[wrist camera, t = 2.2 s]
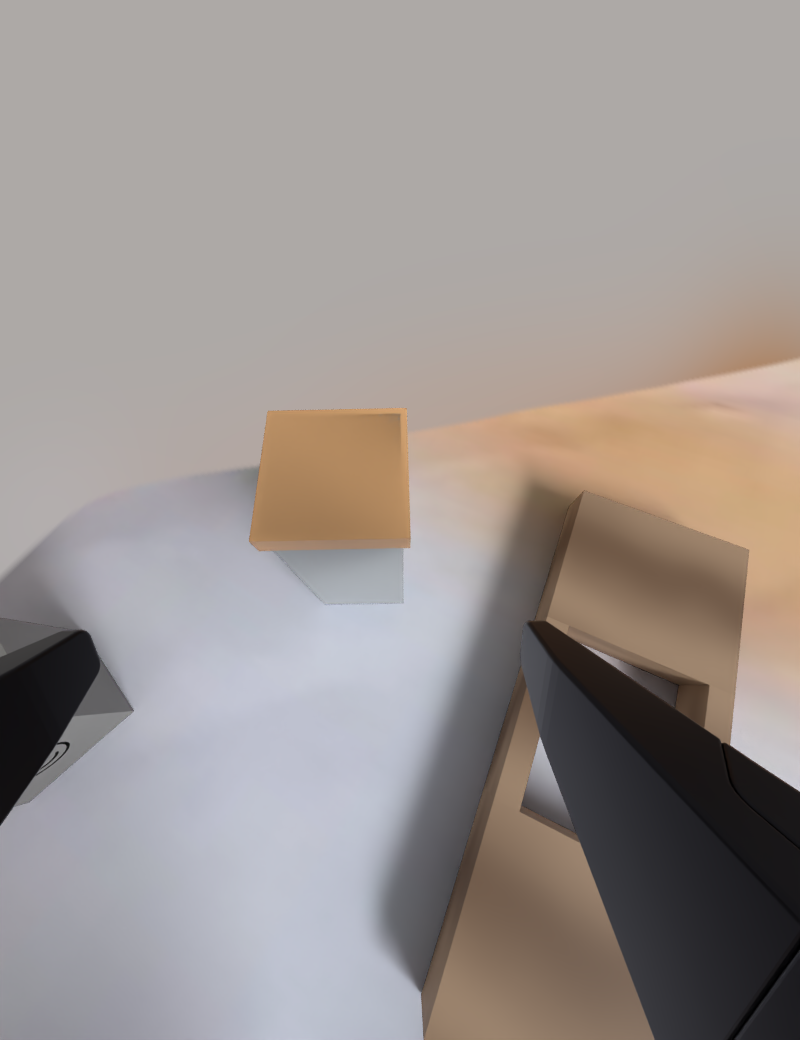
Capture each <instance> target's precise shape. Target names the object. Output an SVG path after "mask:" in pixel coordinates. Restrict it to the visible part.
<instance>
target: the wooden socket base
mask: <svg viewBox="0 0 800 1040" xmlns="http://www.w3.org/2000/svg"><path fill="white" fill-rule="evenodd" d="M748 557H749V550H748V549H746V548H743V547H740V546H737V545H735V544H732V543H729V542H726V541H723V540H721V539H718V538H715V537H712V536H710V535H707V534H704V533H701V532H698V531H696V530H693V529H690V528H687V527H685V526H682V525H679V524H676V523H673V522H671V521H668V520H665V519H662V518H660V517H657V516H654V515H651V514H649V513H646V512H643V511H640V510H637V509H635V508H632V507H629V506H626V505H624V504H621V503H618V502H615V501H612V500H610V499H607V498H604V497H601V496H599V495H596V494H593V493H590V492H587V491H585V490H584V491H583V492H582V493H581V494H580V495H579V496H578V497H577V499H576V500H575V501H574V502H573V503H572V504H571V505H570V506H569V508H568V512H567V515H566V518H565V521H564V525H563V528H562V531H561V535H560V538H559V541H558V545H557V548H556V551H555V554H554V558H553V561H552V564H551V568H550V571H549V574H548V578H547V581H546V584H545V587H544V591H543V594H542V597H541V601H540V604H539V607H538V611H537V614H536V617H535V620H544V621H547V622H549V623H550V624H552V625H553V626H555V627H556V628H558V629H559V630H561V631H562V632H564V633H565V634H566V635H568V636H569V637H571V638H572V639H574V640H575V641H577V642H579V643H581V644H584V645H586V646H588V647H591V648H593V649H595V650H598V651H600V652H602V653H605V654H607V655H609V656H612V657H614V658H616V659H619V660H621V661H623V662H626V663H628V664H630V665H633V666H635V667H637V668H640V669H642V670H645V671H647V672H649V673H652V674H654V675H656V676H659V677H661V678H663V679H666V680H668V681H670V682H673V683H675V684H677V685H679V687H678V694H677V700H676V707H675V709H677V710H678V711H680V712H681V713H683V714H684V715H686V716H687V717H689V718H690V719H692V720H693V721H695V722H696V723H698V724H699V725H701V726H702V727H703V728H705V729H706V730H708V731H709V732H711V733H712V734H714V735H715V736H717V737H718V738H720V740H721V743H724V742H725V743H727V744H729V745H730V740H731V729H732V719H733V709H734V699H735V689H736V679H737V669H738V658H739V648H740V638H741V628H742V618H743V608H744V598H745V587H746V577H747V567H748ZM539 737H540V734H539V730H538V727H537V723H536V719H535V715H534V712H533V708H532V704H531V700H530V696H529V692H528V689H527V685H526V681H525V677H524V673H523V669H522V665H521V667H520V670H519V673H518V677H517V680H516V683H515V686H514V690H513V693H512V696H511V700H510V703H509V706H508V710H507V713H506V716H505V719H504V723H503V726H502V729H501V733H500V736H499V739H498V743H497V746H496V749H495V752H494V756H493V759H492V762H491V766H490V769H489V772H488V776H487V779H486V782H485V785H484V789H483V792H482V795H481V799H480V802H479V805H478V808H477V812H476V815H475V818H474V822H473V825H472V828H471V832H470V835H469V838H468V841H467V845H466V848H465V851H464V855H463V858H462V861H461V865H460V868H459V871H458V874H457V878H456V881H455V884H454V888H453V891H452V894H451V898H450V901H449V904H448V907H447V911H446V914H445V917H444V921H443V924H442V927H441V931H440V934H439V937H438V940H437V944H436V947H435V950H434V954H433V957H432V960H431V964H430V967H429V970H428V973H427V977H426V980H425V983H424V987H423V990H422V993H421V1000H422V1018H423V1036H424V1040H655V1039H654V1037H653V1034H652V1031H651V1029H650V1026H649V1023H648V1021H647V1018H646V1016H645V1013H644V1010H643V1008H642V1005H641V1002H640V1000H639V997H638V994H637V992H636V989H635V987H634V984H633V981H632V979H631V976H630V973H629V971H628V968H627V965H626V963H625V960H624V957H623V955H622V952H621V950H620V947H619V944H618V942H617V939H616V936H615V934H614V931H613V928H612V926H611V923H610V920H609V918H608V915H607V913H606V910H605V907H604V905H603V902H602V899H601V897H600V894H599V891H598V889H597V886H596V884H595V881H594V878H593V876H592V873H591V870H590V868H589V865H588V862H587V860H586V857H585V854H584V852H583V849H582V847H581V844H580V841H579V839H578V836H577V834H576V833H574V832H572V831H570V830H568V829H566V828H565V827H563V826H561V825H559V824H557V823H555V822H553V821H551V820H549V819H547V818H545V817H543V816H541V815H539V814H537V813H535V812H533V811H531V810H529V809H527V808H525V807H523V806H521V804H522V800H523V796H524V793H525V789H526V785H527V782H528V778H529V774H530V770H531V767H532V763H533V759H534V755H535V752H536V748H537V744H538V740H539Z"/></svg>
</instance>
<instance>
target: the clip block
mask: <svg viewBox="0 0 800 1040" xmlns="http://www.w3.org/2000/svg"><path fill="white" fill-rule="evenodd" d="M410 539H411V538H410V505H409V472H408V439H407V409H406V408H386V409H339V410H291V411H290V410H288V411H268V412H267V420H266V427H265V433H264V441H263V447H262V454H261V461H260V468H259V475H258V482H257V489H256V496H255V503H254V510H253V517H252V524H251V531H250V538H249V542H250V543H251V544H252V545H253V546H254V547H255V548H256V549H257V550H258V551H274V552H275V553H276V555H277V556H278V557H279V558H280V559H281V560H282V561H283V562H284V563H285V564H286V565H287V566H288V567H289V568H290V569H291V570H292V571H293V572H294V573H295V574H296V575H297V576H298V577H299V578H300V579H301V580H302V581H303V582H304V583H305V584H306V585H307V586H308V587H309V589H310V590H311V591H312V592H313V593H314V594H315V595H316V596H317V597H318V598H319V599H320V600H321V601H322V602H323V603H324V604H325V605H336V604H387V603H403V548H410Z"/></svg>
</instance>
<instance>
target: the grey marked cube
mask: <svg viewBox="0 0 800 1040" xmlns="http://www.w3.org/2000/svg"><path fill="white" fill-rule="evenodd" d="M64 630H70V629H64V628H58V627H52V626H46V625H40V624H35V623H29V622H23V621H17V620H11V619H5V618H0V657H1V656H4V655H6V654H8V653H11V652H13V651H15V650H18V649H20V648H22V647H25V646H27V645H29V644H32V643H34V642H36V641H39V640H41V639H43V638H46V637H48V636H50V635H53V634H55V633H58V632H60V631H64ZM98 656H99V655H98ZM99 658H100V657H99ZM100 662H101V666H100V671H99V673H98V675H97V677H96V679H95V680H94V682H93V684H92V685H91V687H90V689H89V691H88V692H87V694H86V696H85V697H84V699H83V701H82V703H81V704H80V706H79V708H78V709H77V711H76V713H75V715H74V716H73V718H72V720H71V721H70V723H69V725H68V727H67V728H66V730H65V732H64V733H63V735H62V737H61V738H60V740H59V742H58V743H57V745H56V746H55V748H54V749H53V751H52V752H51V754H50V755H49V757H48V758H47V760H46V761H45V763H44V764H43V766H42V767H41V769H40V770H39V771H38V773H37V774H36V776H35V777H34V779H33V780H32V781H31V783H30V784H29V786H28V787H27V789H26V790H25V791H24V793H23V794H22V796H21V797H20V799H19V800H18V801H17V803H16V804H15V806H18V805H22V804H25V803H28V802H30V801H31V800H32V799H34V798H35V797H36V796H37V795H38V794H39V793H40V792H42V791H43V790H44V789H45V788H46V787H47V786H48V785H50V784H51V783H52V782H53V781H54V780H55V779H57V778H58V777H59V776H60V775H61V774H62V773H63V772H65V771H66V770H67V769H68V768H69V767H70V766H71V765H73V764H74V763H75V762H76V761H77V760H78V759H79V758H81V757H82V756H83V755H84V754H85V753H86V752H87V751H89V750H90V749H91V748H92V747H93V746H94V745H96V744H97V743H98V742H99V741H100V740H101V739H102V738H104V737H105V736H106V735H107V734H108V733H109V732H110V731H112V730H113V729H114V728H115V727H116V726H117V725H118V724H120V723H121V722H122V721H123V720H124V719H125V718H127V717H128V716H129V715H130V714H131V713H132V712H133V711H134V710H133V708H132V707H131V705H130V704H129V702H128V701H127V699H126V698H125V696H124V694H123V693H122V691H121V690H120V688H119V687H118V685H117V683H116V682H115V680H114V679H113V677H112V676H111V674H110V673H109V671H108V669H107V668H106V666H105V665H104V663H103V662H102V660H101V658H100ZM15 806H14V807H15Z"/></svg>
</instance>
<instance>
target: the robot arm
mask: <svg viewBox="0 0 800 1040" xmlns="http://www.w3.org/2000/svg"><path fill="white" fill-rule="evenodd" d="M520 660H521V665H522V669H523V673H524V677H525V681H526V685H527V689H528V692H529V696H530V700H531V704H532V708H533V712H534V715H535V719H536V723H537V727H538V730H539V734H540V737H541V740H542V743H543V746H544V749H545V751H546V754H547V757H548V759H549V762H550V765H551V767H552V770H553V773H554V775H555V778H556V781H557V783H558V786H559V788H560V791H561V794H562V796H563V799H564V802H565V804H566V807H567V810H568V812H569V815H570V817H571V820H572V823H573V825H574V828H575V831H576V833H577V836H578V839H579V841H580V844H581V847H582V849H583V852H584V854H585V857H586V860H587V862H588V865H589V868H590V870H591V873H592V876H593V878H594V881H595V884H596V886H597V889H598V891H599V894H600V897H601V899H602V902H603V905H604V907H605V910H606V913H607V915H608V918H609V920H610V923H611V926H612V928H613V931H614V934H615V936H616V939H617V942H618V944H619V947H620V950H621V952H622V955H623V957H624V960H625V963H626V965H627V968H628V971H629V973H630V976H631V979H632V981H633V984H634V987H635V989H636V992H637V994H638V997H639V1000H640V1002H641V1005H642V1008H643V1010H644V1013H645V1016H646V1018H647V1021H648V1023H649V1026H650V1029H651V1031H652V1034H653V1037H654V1039H655V1040H800V792H799V791H798V790H796V789H795V788H793V787H792V786H790V785H789V784H787V783H786V782H784V781H783V780H781V779H780V778H778V777H777V776H775V775H774V774H772V773H771V772H769V771H768V770H766V769H764V768H763V767H761V766H760V765H758V764H757V763H755V762H754V761H752V760H751V759H749V758H748V757H746V756H745V755H744V754H742V753H741V752H739V751H738V750H736V749H735V748H733V747H732V746H730V745H729V744H727V743H725V742H724V743H721V740H720V738H718V737H717V736H715V735H714V734H712V733H711V732H709V731H708V730H706V729H705V728H703V727H702V726H701V725H699V724H698V723H696V722H695V721H693V720H692V719H690V718H689V717H687V716H686V715H684V714H683V713H681V712H680V711H678V710H677V709H675V708H674V707H673V706H671V705H670V704H668V703H667V702H665V701H664V700H662V699H661V698H659V697H658V696H656V695H655V694H653V693H652V692H650V691H649V690H647V689H646V688H645V687H643V686H642V685H640V684H639V683H637V682H636V681H634V680H633V679H631V678H630V677H628V676H627V675H625V674H624V673H622V672H621V671H619V670H618V669H617V668H615V667H614V666H612V665H611V664H609V663H608V662H606V661H605V660H603V659H602V658H600V657H599V656H597V655H596V654H594V653H593V652H591V651H590V650H589V649H587V648H586V647H584V646H583V645H581V644H580V643H578V642H577V641H575V640H574V639H572V638H571V637H569V636H568V635H566V634H565V633H564V632H562V631H561V630H559V629H558V628H556V627H555V626H553V625H552V624H550V623H549V622H547V621H544V620H534V621H527V622H525V624H524V627H523V634H522V642H521V650H520ZM100 666H101V662H100V658H99V656H98V653H97V651H96V648H95V646H94V643H93V640H92V638H91V636H90V634H89V633H88V632H87V631H85V630H64V631H60V632H58V633H55V634H53V635H50V636H48V637H46V638H43V639H41V640H39V641H36V642H34V643H32V644H29V645H27V646H25V647H22V648H20V649H18V650H15V651H13V652H11V653H8V654H6V655H4V656H1V657H0V826H1V824H2V823H3V821H4V820H5V819H6V817H7V816H8V814H9V813H10V811H11V810H12V809H13V807H14V806H15V804H16V803H17V801H18V800H19V799H20V797H21V796H22V794H23V793H24V791H25V790H26V789H27V787H28V786H29V784H30V783H31V781H32V780H33V779H34V777H35V776H36V774H37V773H38V771H39V770H40V769H41V767H42V766H43V764H44V763H45V761H46V760H47V758H48V757H49V755H50V754H51V752H52V751H53V749H54V748H55V746H56V745H57V743H58V742H59V740H60V738H61V737H62V735H63V733H64V732H65V730H66V728H67V727H68V725H69V723H70V721H71V720H72V718H73V716H74V715H75V713H76V711H77V709H78V708H79V706H80V704H81V703H82V701H83V699H84V697H85V696H86V694H87V692H88V691H89V689H90V687H91V685H92V684H93V682H94V680H95V679H96V677H97V675H98V673H99V671H100Z"/></svg>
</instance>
